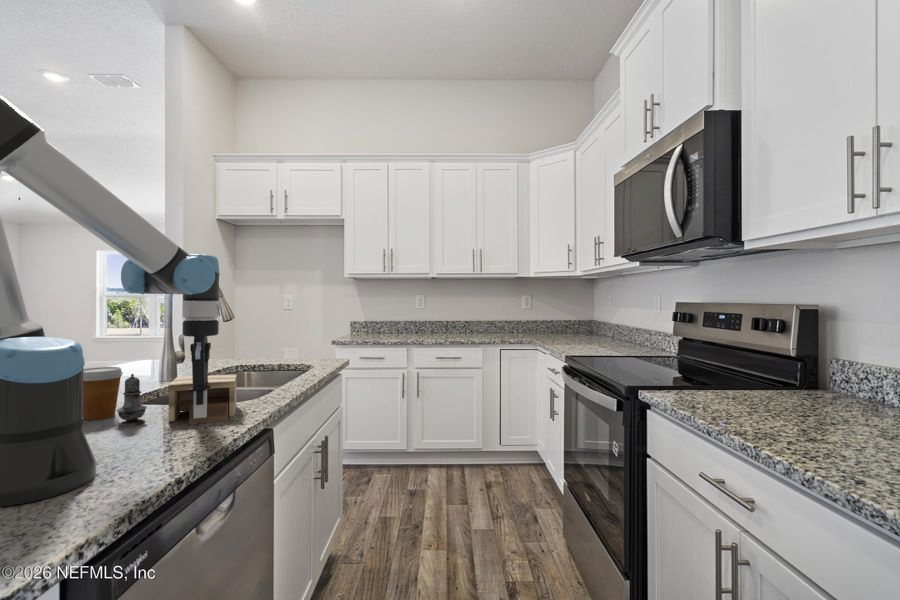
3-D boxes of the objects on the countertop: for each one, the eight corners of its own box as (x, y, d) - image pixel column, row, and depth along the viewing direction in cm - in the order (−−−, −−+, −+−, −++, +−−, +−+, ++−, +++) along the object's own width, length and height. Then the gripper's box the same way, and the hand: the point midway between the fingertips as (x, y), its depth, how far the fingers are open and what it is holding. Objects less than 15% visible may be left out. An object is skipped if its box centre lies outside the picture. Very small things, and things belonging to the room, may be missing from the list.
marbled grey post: (142, 425, 103) (143, 374, 103) (112, 428, 101) (113, 376, 101) (149, 419, 109) (150, 371, 109) (121, 421, 106) (121, 372, 106)
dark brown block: (226, 422, 108) (226, 406, 108) (189, 425, 105) (189, 408, 105) (230, 410, 119) (230, 396, 119) (197, 413, 116) (197, 398, 116)
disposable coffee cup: (70, 424, 104) (71, 373, 104) (78, 414, 112) (78, 368, 112) (120, 418, 109) (120, 370, 109) (124, 410, 117) (125, 365, 117)
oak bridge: (234, 416, 112) (234, 381, 112) (168, 422, 106) (168, 385, 106) (236, 406, 122) (236, 374, 122) (176, 411, 116) (176, 377, 116)
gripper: (216, 320, 100) (215, 422, 100) (220, 317, 112) (219, 409, 112) (178, 320, 97) (177, 426, 97) (186, 318, 109) (186, 412, 109)
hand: (200, 417), depth 105 cm, fingers closed
